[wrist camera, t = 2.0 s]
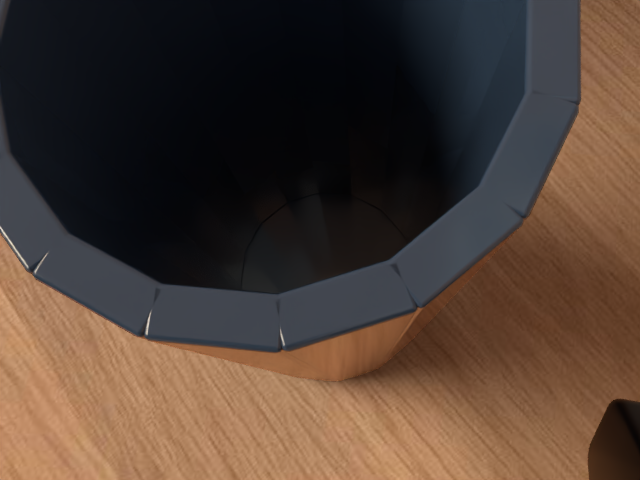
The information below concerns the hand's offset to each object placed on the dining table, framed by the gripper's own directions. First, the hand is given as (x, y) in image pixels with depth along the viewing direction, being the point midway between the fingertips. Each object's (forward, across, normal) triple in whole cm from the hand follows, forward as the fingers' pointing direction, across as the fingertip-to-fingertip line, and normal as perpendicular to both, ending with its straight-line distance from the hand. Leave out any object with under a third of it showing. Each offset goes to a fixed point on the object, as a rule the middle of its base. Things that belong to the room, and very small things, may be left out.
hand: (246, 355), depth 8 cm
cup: (+9, 0, +5) cm, 11 cm away
